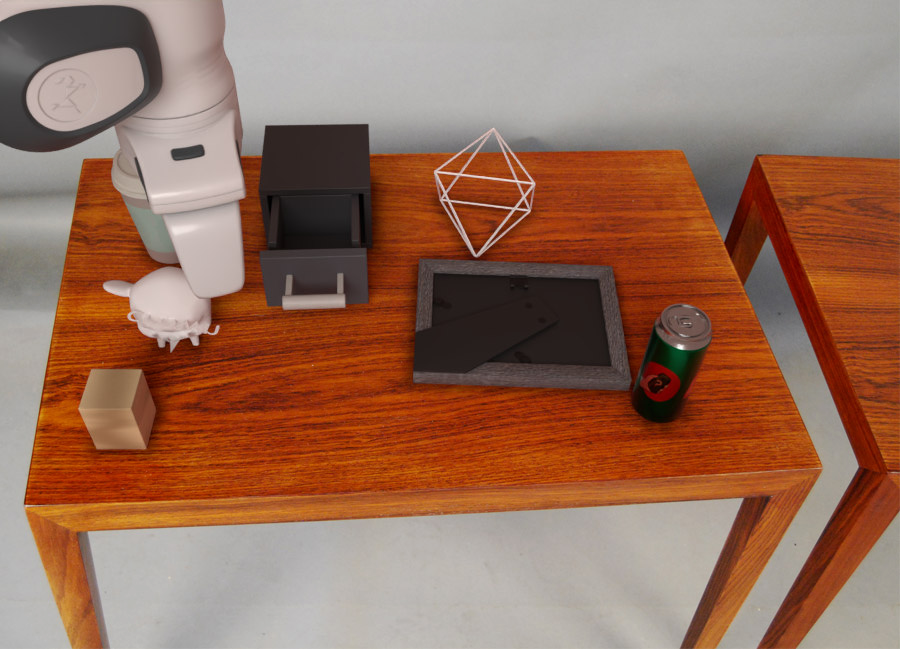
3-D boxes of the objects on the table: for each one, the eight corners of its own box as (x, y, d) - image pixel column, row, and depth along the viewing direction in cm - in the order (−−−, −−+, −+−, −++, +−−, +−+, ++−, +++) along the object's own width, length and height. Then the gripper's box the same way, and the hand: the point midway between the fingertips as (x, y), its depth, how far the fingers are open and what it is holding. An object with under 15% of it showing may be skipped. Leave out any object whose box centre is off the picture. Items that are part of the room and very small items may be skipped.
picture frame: (413, 383, 83) (628, 390, 84) (413, 369, 82) (632, 377, 82) (419, 268, 94) (609, 276, 94) (419, 255, 92) (613, 263, 93)
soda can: (687, 427, 81) (722, 343, 72) (634, 426, 81) (662, 342, 72) (676, 385, 84) (709, 300, 75) (625, 384, 84) (652, 299, 75)
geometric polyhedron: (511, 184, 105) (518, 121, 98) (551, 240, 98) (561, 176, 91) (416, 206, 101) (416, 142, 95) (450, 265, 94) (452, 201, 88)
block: (96, 449, 76) (77, 409, 72) (108, 409, 79) (91, 368, 75) (146, 449, 77) (131, 409, 72) (156, 410, 80) (142, 368, 75)
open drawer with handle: (369, 334, 86) (367, 286, 81) (264, 338, 85) (256, 289, 80) (367, 236, 96) (365, 188, 91) (273, 238, 95) (265, 190, 90)
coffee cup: (230, 239, 96) (212, 151, 87) (175, 283, 91) (150, 194, 82) (174, 211, 99) (151, 123, 90) (117, 252, 94) (88, 163, 85)
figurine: (128, 323, 89) (105, 372, 80) (114, 248, 85) (88, 292, 76) (246, 317, 90) (235, 365, 82) (237, 244, 86) (225, 286, 78)
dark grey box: (372, 248, 96) (370, 187, 90) (267, 251, 95) (258, 189, 89) (370, 183, 104) (368, 123, 97) (273, 185, 103) (265, 125, 96)
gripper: (118, 53, 68) (154, 191, 78) (151, 213, 55) (189, 354, 65) (199, 42, 69) (224, 179, 79) (249, 195, 57) (272, 335, 67)
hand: (209, 259), depth 72 cm, fingers closed
